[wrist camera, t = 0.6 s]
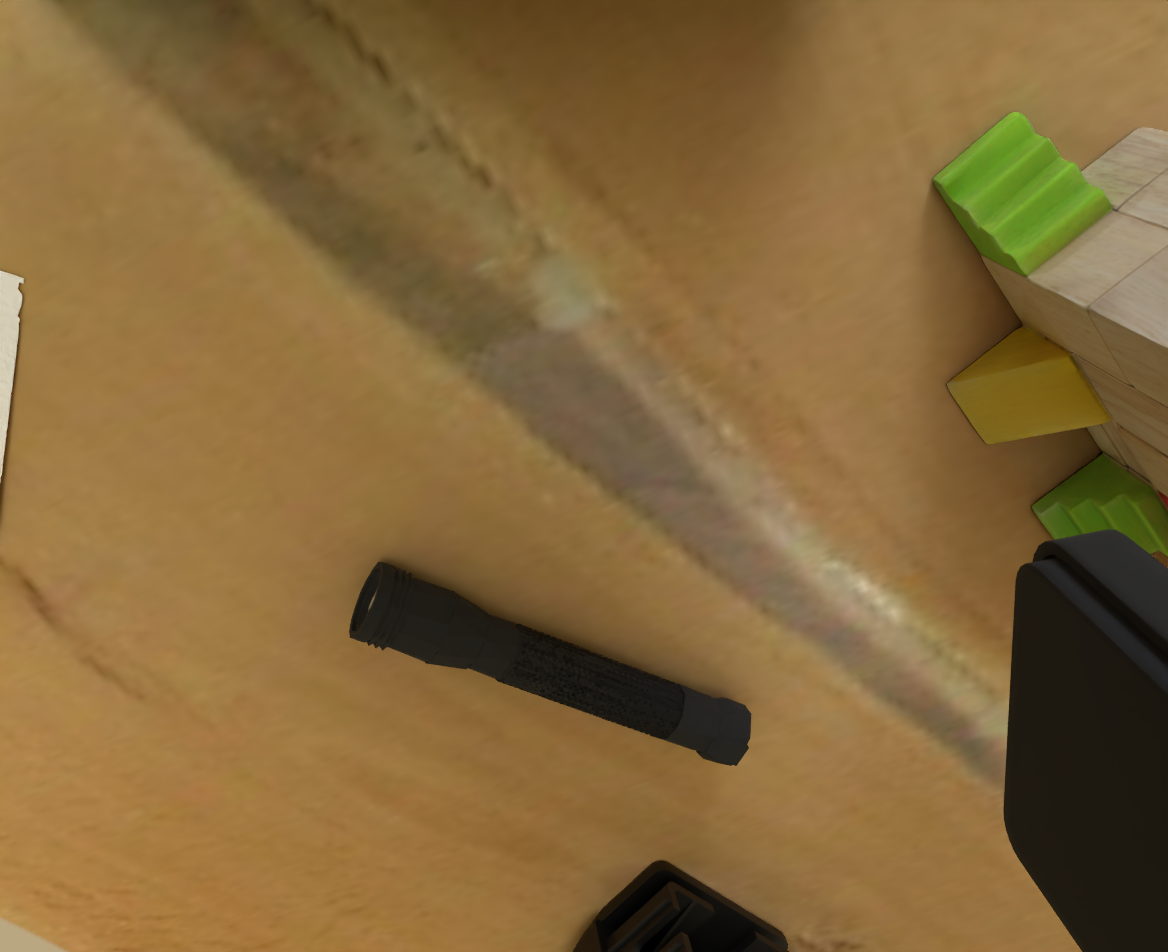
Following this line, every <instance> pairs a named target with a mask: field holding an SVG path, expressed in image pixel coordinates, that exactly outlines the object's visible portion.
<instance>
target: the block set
mask: <svg viewBox="0 0 1168 952" xmlns="http://www.w3.org/2000/svg"><path fill="white" fill-rule="evenodd" d="M933 183H934V185H935V186H936V188H937V189H938V191H939V192H940V194H941V195H942V197H943V199H944V200H945V202H946V203H947V205H948V206H949V208H950V209H951V211H952V212H953V214H954V215H955V217H956V218H957V220H958V221H959V223H960V224H961V226H962V227H963V229H964V230H965V232H966V233H967V235H968V236H969V238H970V239H971V241H972V242H973V244H974V245H975V247H976V248H977V249H978V251H979V252H980V254H981V258H982V260H983V262H984V264H985V266H986V267H987V269H988V270H989V272H990V274H991V275H992V277H993V278H994V280H995V281H996V283H997V284H998V286H999V288H1000V289H1001V291H1002V292H1003V294H1004V295H1005V297H1006V298H1007V300H1008V302H1009V303H1010V305H1011V306H1012V308H1013V310H1014V311H1015V313H1016V315H1017V316H1018V318H1019V319H1020V320H1021V322H1022V323H1023V325H1022V327H1021V328H1019V329H1017V330H1015V331H1013V332H1012V333H1011V334H1010V335H1009V336H1007V337H1006V338H1005V339H1004V340H1002V341H1001V342H1000V343H998V344H997V345H996V346H995V347H993V348H992V349H991V350H989V351H988V352H987V353H985V354H984V355H983V356H982V357H980V358H979V359H978V360H977V361H975V362H974V363H973V364H971V365H970V366H969V367H968V368H966V369H965V370H964V371H962V372H961V373H960V374H958V375H957V376H956V377H954V378H953V379H952V380H951V381H950V382H949V383H948V384H947V387H948V389H949V391H950V393H951V394H952V396H953V397H954V399H955V400H956V402H957V403H958V405H959V406H960V407H961V409H962V410H963V412H964V413H965V415H966V416H967V418H968V419H969V421H970V422H971V424H972V425H973V427H974V428H975V430H976V431H977V432H978V434H979V435H980V437H981V438H982V439H983V440H984V442H985V443H986V444H996V443H1002V442H1007V441H1012V440H1018V439H1023V438H1029V437H1034V436H1040V435H1045V434H1051V433H1057V432H1062V431H1068V430H1073V429H1078V428H1083V427H1086V428H1087V429H1088V431H1089V432H1090V434H1091V436H1092V437H1093V439H1094V440H1095V442H1096V443H1097V445H1098V447H1099V448H1100V449H1101V450H1102V451H1103V453H1102V455H1100V456H1099V457H1098V458H1096V459H1095V460H1093V461H1092V462H1091V463H1089V464H1088V465H1087V466H1085V467H1084V468H1082V469H1081V470H1080V471H1078V472H1077V473H1076V474H1074V475H1073V476H1072V477H1070V478H1069V479H1067V480H1066V481H1065V482H1063V483H1062V484H1060V485H1059V486H1057V487H1056V488H1055V489H1053V490H1052V491H1051V492H1049V493H1048V494H1047V495H1046V496H1044V497H1043V498H1042V499H1040V500H1039V501H1038V502H1036V503H1035V504H1034V505H1033V506H1032V509H1033V511H1034V512H1035V514H1036V515H1037V517H1038V518H1039V519H1040V521H1041V522H1042V524H1043V525H1044V526H1045V528H1046V529H1047V531H1048V532H1049V533H1050V535H1051V536H1052V538H1053V539H1054V540H1056V539H1061V538H1066V537H1071V536H1076V535H1081V534H1086V533H1091V532H1096V531H1101V530H1106V529H1111V530H1117V531H1119V532H1121V533H1123V534H1125V535H1126V536H1128V537H1129V538H1130V539H1131V540H1133V541H1134V542H1135V543H1136V544H1138V545H1139V546H1140V547H1141V548H1143V549H1144V550H1145V551H1146V552H1148V553H1149V554H1150V555H1151V554H1152V553H1154V552H1156V551H1161V552H1162V553H1163V554H1164V555H1165V556H1167V557H1168V132H1165V131H1161V130H1157V129H1152V128H1138V129H1136V130H1135V131H1133V132H1131V133H1130V134H1129V135H1128V136H1127V137H1126V138H1124V139H1123V140H1121V141H1120V142H1118V143H1117V144H1116V145H1115V146H1113V147H1112V148H1111V149H1110V150H1108V151H1107V152H1106V153H1105V154H1103V155H1102V156H1101V157H1099V158H1098V159H1097V160H1095V161H1094V162H1093V163H1091V164H1090V165H1089V166H1088V167H1086V168H1085V169H1084V170H1083V171H1080V170H1079V168H1078V166H1077V165H1076V164H1075V163H1072V162H1069V161H1066V160H1064V159H1063V158H1062V157H1061V156H1060V154H1059V153H1058V151H1057V149H1056V148H1055V146H1054V145H1053V143H1052V142H1051V140H1050V139H1049V138H1046V137H1043V136H1040V135H1038V134H1036V132H1035V131H1034V129H1033V127H1032V125H1031V124H1030V122H1029V121H1028V119H1027V118H1026V116H1025V115H1023V114H1021V113H1018V112H1011V113H1010V114H1008V115H1007V116H1005V117H1004V118H1003V119H1002V120H1001V121H1000V122H998V123H997V124H996V125H995V126H994V127H992V128H991V129H990V130H989V131H988V132H986V133H985V134H984V135H983V136H982V137H980V138H979V139H978V140H977V141H976V142H974V143H973V144H972V145H971V146H970V147H969V148H967V149H966V150H965V151H964V152H963V153H962V154H960V155H959V156H958V157H957V158H956V159H955V160H953V161H952V162H951V163H950V164H949V165H948V166H947V167H945V168H944V169H943V170H942V171H941V172H940V173H938V174H937V175H936V176H935V177H934V179H933Z"/></svg>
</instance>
